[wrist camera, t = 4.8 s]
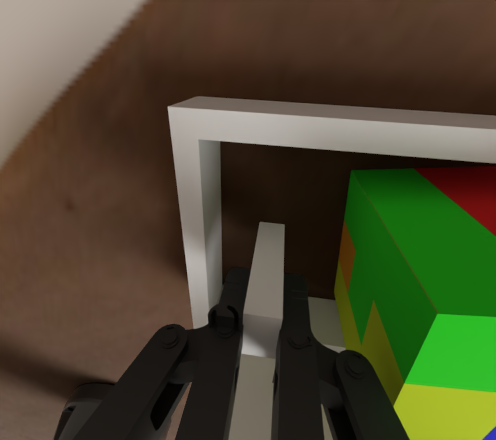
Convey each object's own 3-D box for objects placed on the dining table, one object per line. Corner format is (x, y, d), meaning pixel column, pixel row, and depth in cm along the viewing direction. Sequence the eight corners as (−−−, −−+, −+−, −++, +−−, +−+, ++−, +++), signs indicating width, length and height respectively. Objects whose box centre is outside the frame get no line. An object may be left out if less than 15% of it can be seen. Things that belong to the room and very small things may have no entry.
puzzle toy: (476, 296, 18) (640, 497, 10) (333, 290, 20) (368, 458, 11) (553, 164, 13) (1045, 347, 5) (350, 169, 15) (437, 313, 6)
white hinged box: (209, 293, 22) (194, 334, 18) (197, 95, 13) (167, 106, 10) (451, 326, 20) (485, 379, 16) (609, 123, 12) (740, 146, 8)
